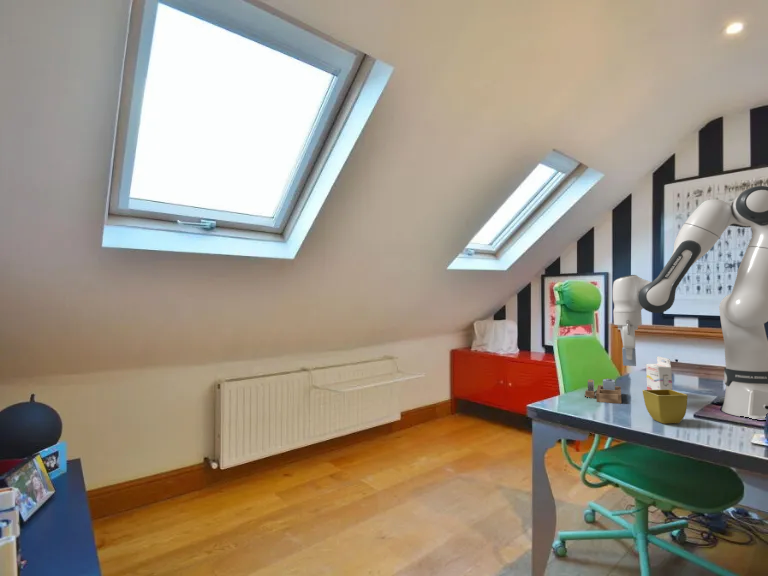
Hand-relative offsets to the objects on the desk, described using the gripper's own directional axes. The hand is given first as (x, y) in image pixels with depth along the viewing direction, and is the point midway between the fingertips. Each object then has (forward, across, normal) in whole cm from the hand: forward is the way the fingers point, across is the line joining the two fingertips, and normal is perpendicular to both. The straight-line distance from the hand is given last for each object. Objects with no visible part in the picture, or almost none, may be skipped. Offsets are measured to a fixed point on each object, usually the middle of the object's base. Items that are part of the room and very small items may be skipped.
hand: (629, 358), depth 153 cm
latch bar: (+16, +13, +14) cm, 25 cm away
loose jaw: (+2, 0, 0) cm, 2 cm away
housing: (+16, +7, +9) cm, 20 cm away
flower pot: (+16, -22, -8) cm, 28 cm away
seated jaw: (+16, +11, +7) cm, 21 cm away
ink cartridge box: (+16, +18, -10) cm, 26 cm away
